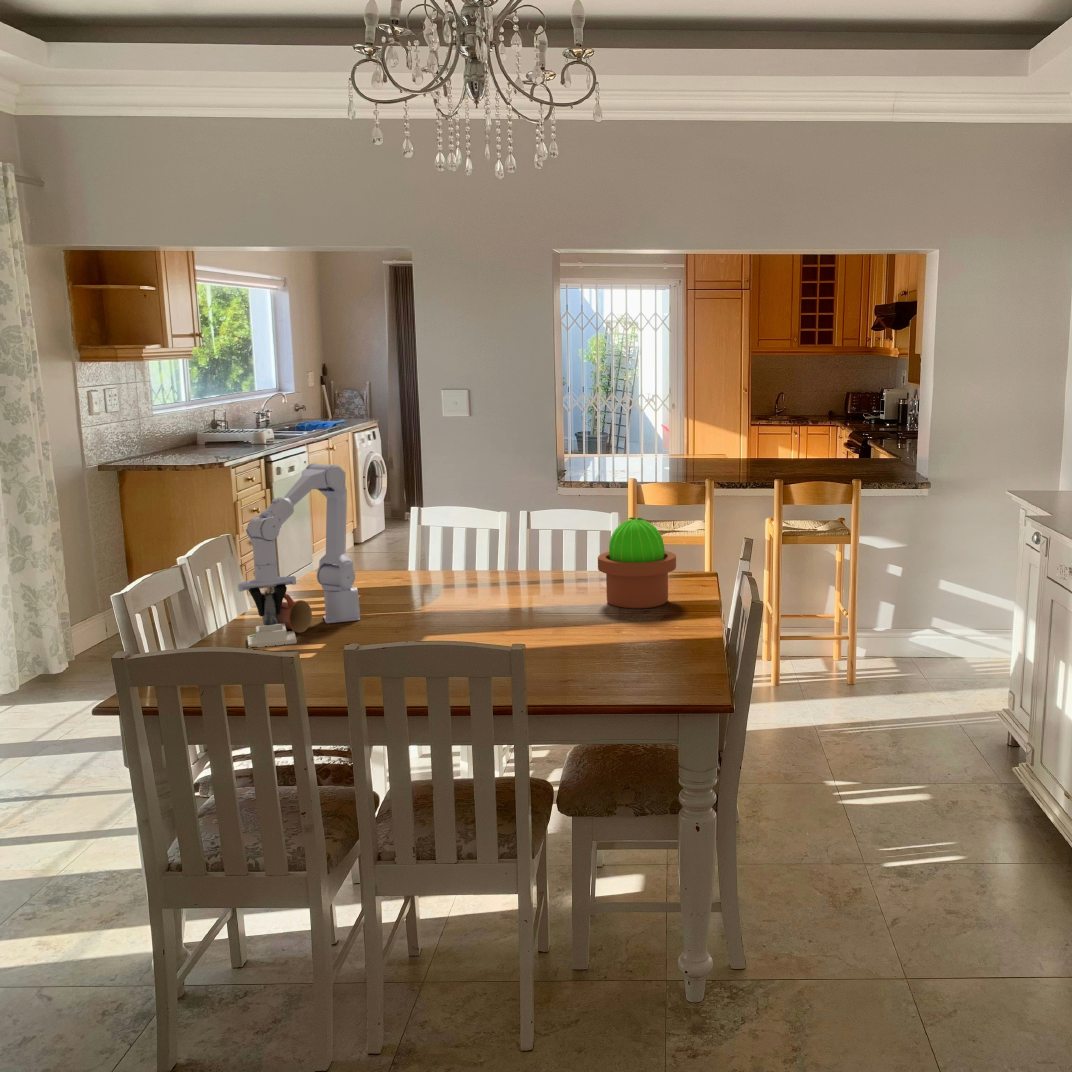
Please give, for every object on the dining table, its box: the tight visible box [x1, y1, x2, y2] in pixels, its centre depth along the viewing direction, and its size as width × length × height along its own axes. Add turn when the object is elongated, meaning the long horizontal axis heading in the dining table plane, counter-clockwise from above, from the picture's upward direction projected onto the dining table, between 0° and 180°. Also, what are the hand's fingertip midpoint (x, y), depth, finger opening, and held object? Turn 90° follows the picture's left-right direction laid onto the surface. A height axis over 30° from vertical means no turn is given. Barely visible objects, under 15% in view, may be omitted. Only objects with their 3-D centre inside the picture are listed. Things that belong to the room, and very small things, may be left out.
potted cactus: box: [597, 516, 677, 609], centre depth 288 cm, size 22×22×25 cm
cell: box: [261, 589, 278, 626], centre depth 260 cm, size 4×4×9 cm
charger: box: [247, 623, 297, 649], centre depth 261 cm, size 12×9×4 cm
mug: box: [277, 592, 313, 634], centre depth 271 cm, size 12×9×10 cm
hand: (269, 614), depth 260 cm, fingers closed on cell, 4 cm apart
